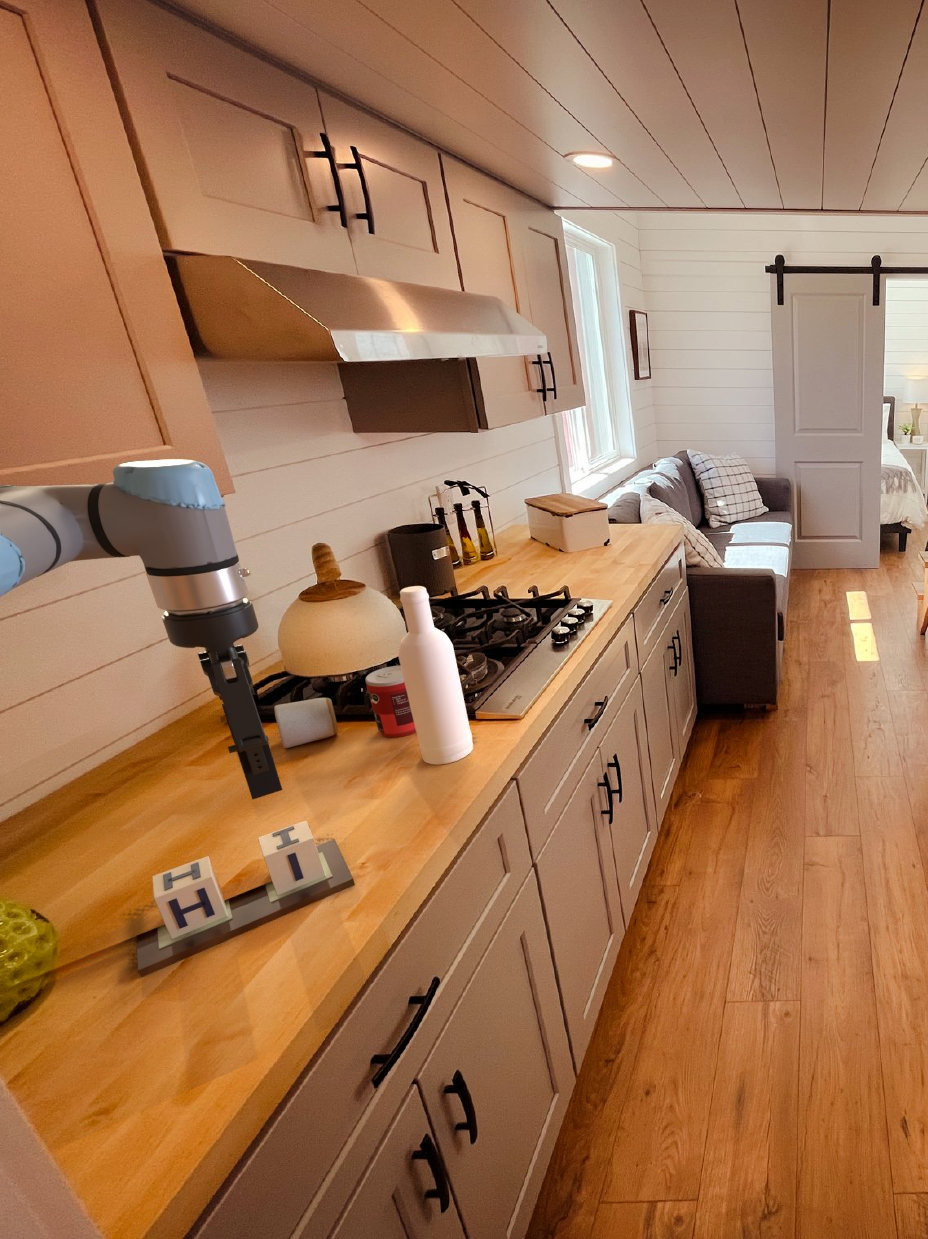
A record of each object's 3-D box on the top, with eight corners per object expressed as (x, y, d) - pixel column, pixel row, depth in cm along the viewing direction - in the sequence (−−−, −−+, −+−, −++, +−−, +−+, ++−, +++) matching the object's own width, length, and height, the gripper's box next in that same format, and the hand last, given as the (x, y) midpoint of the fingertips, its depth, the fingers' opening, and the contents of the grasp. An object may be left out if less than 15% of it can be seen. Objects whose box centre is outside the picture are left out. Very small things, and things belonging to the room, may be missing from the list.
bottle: (425, 770, 112) (385, 600, 101) (419, 750, 118) (380, 587, 107) (478, 755, 116) (445, 590, 106) (469, 736, 122) (437, 578, 112)
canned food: (389, 719, 128) (376, 666, 124) (435, 715, 129) (423, 663, 125) (370, 740, 121) (356, 684, 117) (419, 736, 122) (406, 681, 118)
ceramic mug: (342, 739, 120) (331, 701, 118) (285, 755, 115) (272, 716, 113) (335, 718, 128) (325, 681, 125) (281, 732, 123) (269, 694, 120)
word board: (141, 977, 74) (137, 970, 74) (137, 922, 81) (134, 915, 81) (355, 884, 87) (353, 878, 87) (336, 844, 95) (334, 837, 94)
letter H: (171, 940, 78) (153, 898, 75) (168, 915, 81) (151, 875, 79) (228, 916, 81) (212, 876, 79) (223, 894, 84) (207, 854, 82)
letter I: (277, 896, 84) (263, 856, 82) (271, 875, 87) (257, 836, 85) (325, 876, 87) (313, 837, 85) (317, 856, 91) (305, 819, 89)
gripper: (267, 626, 69) (317, 801, 76) (236, 572, 85) (279, 721, 92) (166, 645, 64) (230, 831, 71) (154, 584, 80) (207, 740, 87)
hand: (258, 769), depth 82 cm, fingers open, 13 cm apart
